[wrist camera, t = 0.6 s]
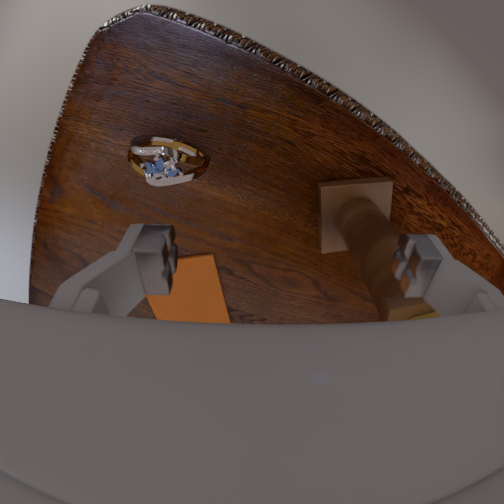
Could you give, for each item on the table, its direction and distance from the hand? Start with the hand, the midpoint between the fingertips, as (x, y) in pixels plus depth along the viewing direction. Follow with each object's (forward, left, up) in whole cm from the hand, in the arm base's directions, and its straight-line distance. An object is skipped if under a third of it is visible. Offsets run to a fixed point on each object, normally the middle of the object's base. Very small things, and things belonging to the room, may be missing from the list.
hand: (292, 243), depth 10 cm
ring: (0, -8, -20) cm, 21 cm away
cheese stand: (+10, +9, -19) cm, 24 cm away
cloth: (+19, -12, -19) cm, 30 cm away
